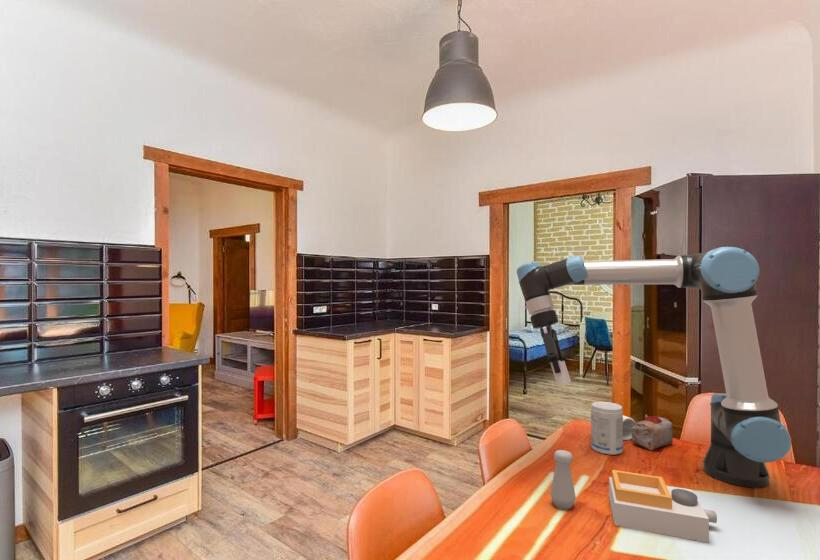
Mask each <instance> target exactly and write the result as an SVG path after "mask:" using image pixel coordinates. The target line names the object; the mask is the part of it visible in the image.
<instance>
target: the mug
mask: <svg viewBox="0 0 820 560" xmlns="http://www.w3.org/2000/svg"><path fill="white" fill-rule="evenodd" d="M635 424H636V421H635V420H634V418H632V417H629V416H626V415H624V414H623V441H625V440H627V441H631V440H632V427H633V426H634V425H635Z"/></svg>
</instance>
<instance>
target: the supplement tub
mask: <svg viewBox="0 0 820 560" xmlns="http://www.w3.org/2000/svg"><path fill="white" fill-rule="evenodd" d="M623 415H624V412H623V406H622V405H620V404H619V403H614V402H610V401H593V402H592V403H591V407H590V446H591V448H592V450H593V451H595V452H598V453H600V454H604V455H610V456H611V455H612V456H614V455H615V456H616V455H620V454H622V453H623V451H624V440H623Z"/></svg>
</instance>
